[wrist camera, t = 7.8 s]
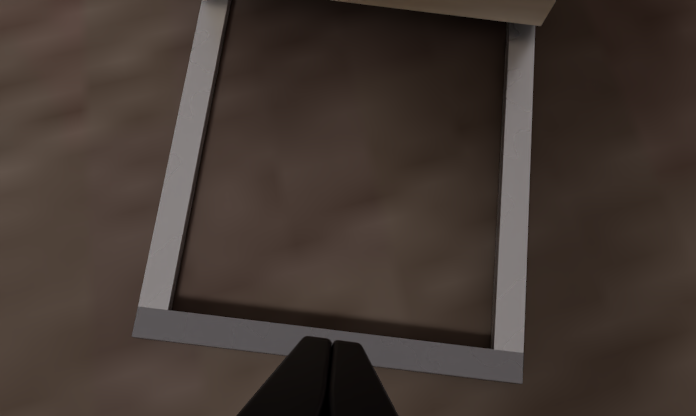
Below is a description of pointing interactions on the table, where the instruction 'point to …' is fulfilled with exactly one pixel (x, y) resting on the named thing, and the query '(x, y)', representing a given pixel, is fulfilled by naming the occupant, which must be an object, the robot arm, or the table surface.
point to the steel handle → (381, 350)
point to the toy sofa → (475, 8)
